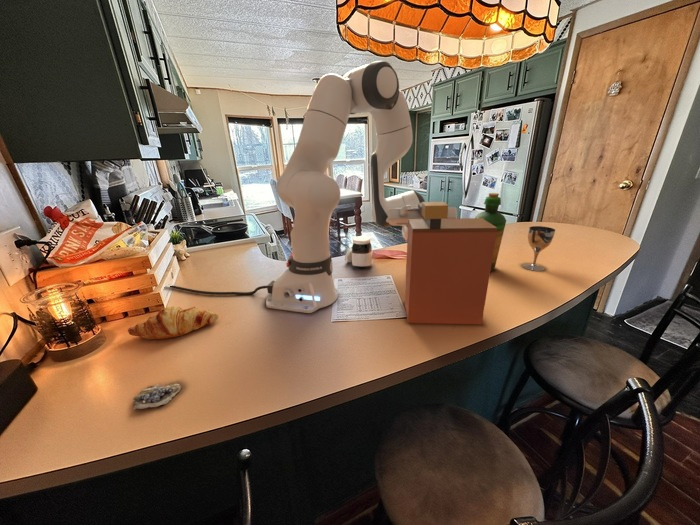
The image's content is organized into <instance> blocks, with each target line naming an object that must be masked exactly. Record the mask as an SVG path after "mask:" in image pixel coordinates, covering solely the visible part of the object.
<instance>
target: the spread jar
mask: <svg viewBox="0 0 700 525" xmlns="http://www.w3.org/2000/svg"><path fill="white" fill-rule="evenodd" d="M372 254H373V246H372V243H371V237H370V236H367V235H359V236H357V235H356V236H355V237H353V238H352V245H351V247H350V248H348V250H347V251H346V253H345V255H344V261H346V262H347V263H351V265H352V267H353V268H355V269H357V270H367V269H369V268H371V267H372V263H373V257H372V256H373V255H372Z"/></svg>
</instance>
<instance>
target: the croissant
mask: <svg viewBox="0 0 700 525" xmlns="http://www.w3.org/2000/svg"><path fill="white" fill-rule="evenodd" d="M218 319H219V314H218V313H215V312H213V311H211V310H208V309H206V310H203V309H201V308H198V307H196V306H192V307H189V308H185V309H184V308H182V307H180V306H168V307H164V308H162V309H159V310H158V313H157V314H153V315H151V316H149V317H148V318H147V320H145V321H141V322H137V324H135V326H131V327H129V328H128V329H127V333H128V335H130V336H133V337H140V338H142V339H144V340H145V339H146V340H164V339H169V338H175V337H181V336H183V335H185V334H188V333H191V332H192V331H196V330H199V329H200V328H202V327H204V326H206V325H210V324H212V323H214V322H216V321H217V320H218Z"/></svg>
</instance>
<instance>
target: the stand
mask: <svg viewBox="0 0 700 525" xmlns="http://www.w3.org/2000/svg"><path fill="white" fill-rule="evenodd" d="M496 234H497V227H495V226H494V225H492V224H491V223H489V222H487V221H486V220H484V219H483V218H475V217H470V218H469V217H466V218H465V217H463V218H461V217H460V218H458V217H457V219H441V228H440V229H430V228H429V227H428V226H427V224H426V223H425V221H424V220H423V219H408V238H407V241H406V262H405V263H406V264H405V265H406V266H405V287H404V308H405V313H406V314H405V315H406V319H407V323H408V324H446V325H453V324H454V325H482V324H483V318H484V312H485V305H486V300H487V293H488V287H489V281H490V275H491V271H490V270H491V264H492V258H493V252H494V246H495V240H496Z"/></svg>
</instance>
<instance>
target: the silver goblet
mask: <svg viewBox="0 0 700 525" xmlns="http://www.w3.org/2000/svg"><path fill="white" fill-rule="evenodd" d="M555 234H556V229H555V228H553V227H549V226H541V225H533V226H532V225H531V226H529V227H528V231H527V242H528V244H529V246H530V248H531V249H532V250H533V254H534V255H533V262H532V263H523V264H522V268H524V269H526V270H529V271H535V272H542V271H544V270H545V267H544V266H542V265H540V264H537V259H538V257H539V254H540V253H541V252H542V251H543V250H545V249H547V248H548V247H549V246H550V245H551V244H552V242H553V239H554V237H555Z"/></svg>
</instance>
